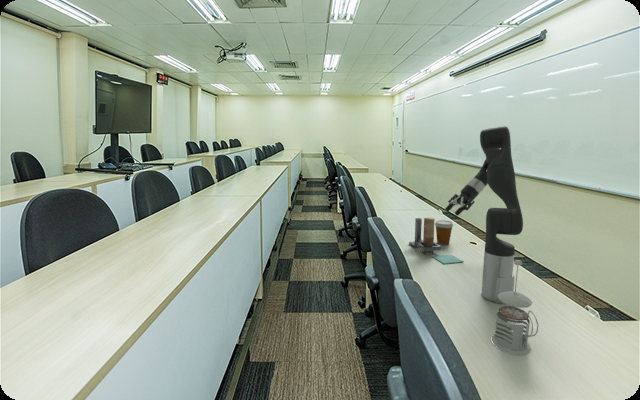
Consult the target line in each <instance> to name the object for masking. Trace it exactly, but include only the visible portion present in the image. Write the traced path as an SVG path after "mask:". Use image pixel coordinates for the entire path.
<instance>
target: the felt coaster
mask: <svg viewBox="0 0 640 400" xmlns="http://www.w3.org/2000/svg"><path fill="white" fill-rule="evenodd" d="M431 257H432V258H433V259H435V260H436V261H438V262H440V263H441V264H442V265H449V264H459V263H460V264H461V263H464V261H463V260H461V259H460V258H458V257H456V256H455V255H454V254H452V253H448V254H438V255H437V254H436V255H432V256H431Z"/></svg>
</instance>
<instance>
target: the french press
mask: <svg viewBox="0 0 640 400" xmlns="http://www.w3.org/2000/svg"><path fill="white" fill-rule="evenodd" d="M513 265H515V266H516V275H515V276H516V277H515V284H514V290H513V291H507V292H502V293H499V294H498V298H499V300H500V301H501V302H503V303H502V304H505V305H502V306H500V307H498V312H497V313H496V319H495V321H496V323H495V331H494V333H495V334H492V335H493V336H492V335H491V337H492V341H493V343H494V344H495V345H496V346H497V347H498V348H497V347H496V346H495V345H494V344H493V343H492V344H493V345H494V346H495V347H496V348H497V349H499V350H500V351H502V352H504V353H507V354H510V355H515V356H527V355H528V354H530V353H531V352H532V347H531V346H530V344H529V343H528V341H529V338H532V337H535V336H537V334H538V331H539V322H538V319H537V317H536V316H535V314H534V312H533V311H532V310H528V312H527V311H525V310H524V309H526V308H529V307H531V306H532V305H533V301H532V299H531V298H529V297H528V296H526V295H524V293H520V292H517V282H518V273H519V266H522V265H523V261H522V260H520V259H514V263H513ZM530 313H531V314H532V316H534V317H533V318H534V319H535V322H536V325H537V326H536V331H535V333H534V334H533V332H534V324H533V321H532V318H531V317H530ZM509 322H510V323H509ZM513 323H514V324H513ZM530 323H531V332H530ZM529 332H530V334H529ZM492 341H491V342H492Z"/></svg>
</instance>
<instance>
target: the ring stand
mask: <svg viewBox="0 0 640 400" xmlns="http://www.w3.org/2000/svg"><path fill="white" fill-rule="evenodd" d="M422 220H423V219H422V218H421V217H415V223H414V224H415V225H414V226H415V227H414V241H409V242H408V244H409V246H411V247H412V248H414V249H420V250H421V251H422V252H423V251H424V252H425V251H433V252H435V251H442V245H441V244H439V243H437V242H434V243H433V246H430V247H425V246H423V239H422V224H423V223H422Z"/></svg>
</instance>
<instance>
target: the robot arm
mask: <svg viewBox="0 0 640 400" xmlns="http://www.w3.org/2000/svg"><path fill="white" fill-rule="evenodd" d="M479 143H480V147H481V149H482V152H483V153H484V155H485V159H484V162H483V163H482V167H481V168H480V170H479V171H478V172H477V174H476V175H475V176H473V178H472V179H470V180H469V181H468V183H466V185H464V187H463V188H462V189H461V190H460V194H457V193H455V194H454V195H453V196H451V198H450V199H449V200H448V201H447V202H448V205H447V206H446V207H445V208H444V210H445V212H450V211H451V210H452V208H453V207H455V206H458V205H459V207H458V208H457V209H456V210H455V212H454V215H455V216H460V215H461V213H463V211H469V210H470V208H471V207H472V206H473V205H474V204H475V201H474V200H475V199H476V198H477V197H478V195H480V193H482V191H483V190H484V188H485V187H486V186H487V185H488V187H489V188H490V189H491V191H492V192H493V193H495V194H496V195H497V197H498V198H500V199H501V201H502V202H503V203H504V205H505V207H489V208H488V210H487V211H486V216H485V243H484V253H483V268H482V280H481V281H482V282H481V296H482V298H484V299H486V300H488V301H491V302H493V303H495V304H504V303H503V302H501V301H500V300H499V298H498V294H499V293H502V292H507V291H513V292H514V290H515V279H516V277H515V276H514V275H513V271H514V261H515V253H516V249H515V246H514V245H513V244H511V243H510V242H507V241H504V240H502V239H501V238H499V237H498V236H497V235H507V236H517V235H520V234H521V233H522V232H523V228H524V218H523V213H522V209H521V206H520V201H519V196H518V192H517V182H516V175H515V168H514V163H513V159H512V157H513V156H512V145H511V132H510V129H509V128H508V127H507V126H505V125H500V126H494V127H487V128H484V129H482V130H481V131H480V134H479Z"/></svg>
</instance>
